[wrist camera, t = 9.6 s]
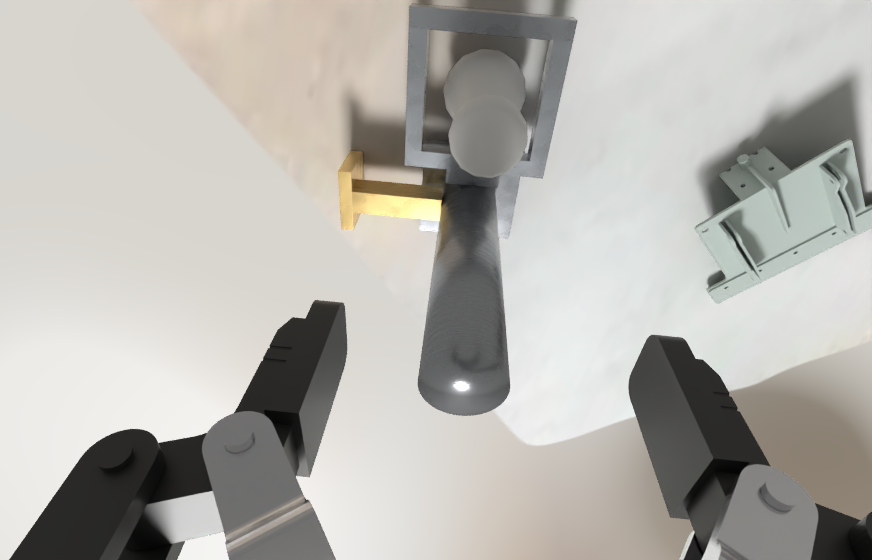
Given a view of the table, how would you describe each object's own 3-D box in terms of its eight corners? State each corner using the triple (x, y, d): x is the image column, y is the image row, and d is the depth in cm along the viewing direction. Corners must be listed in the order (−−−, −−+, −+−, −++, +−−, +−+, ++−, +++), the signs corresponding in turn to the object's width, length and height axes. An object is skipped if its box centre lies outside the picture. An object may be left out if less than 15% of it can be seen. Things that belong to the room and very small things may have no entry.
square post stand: (567, 12, 32) (682, 99, 14) (521, 235, 42) (553, 447, 24) (344, -7, 32) (179, 53, 14) (353, 219, 42) (264, 417, 25)
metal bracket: (677, 253, 36) (905, 124, 29) (645, 205, 40) (841, 82, 33) (729, 322, 45) (914, 235, 38) (699, 278, 48) (862, 192, 42)
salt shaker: (460, 134, 37) (454, 208, 27) (434, 61, 34) (415, 113, 24) (532, 108, 36) (555, 176, 25) (511, 29, 33) (528, 69, 22)
